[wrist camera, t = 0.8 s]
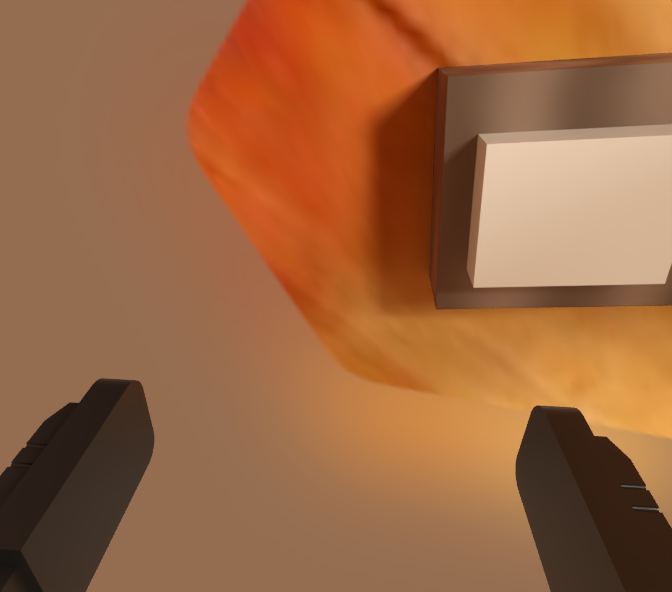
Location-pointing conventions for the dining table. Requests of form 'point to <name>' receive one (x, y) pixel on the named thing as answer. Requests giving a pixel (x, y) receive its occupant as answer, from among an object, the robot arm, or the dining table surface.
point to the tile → (572, 207)
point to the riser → (523, 116)
